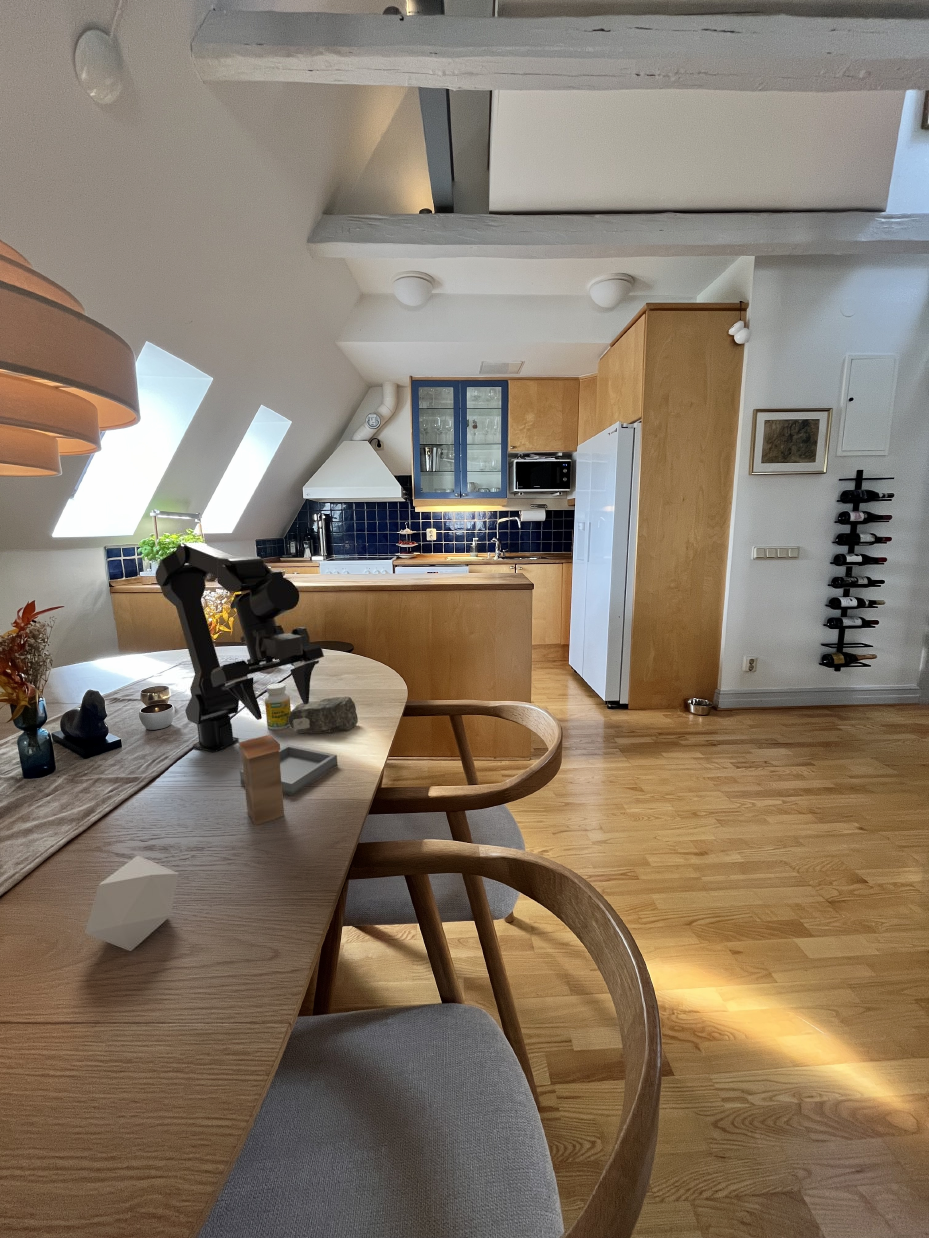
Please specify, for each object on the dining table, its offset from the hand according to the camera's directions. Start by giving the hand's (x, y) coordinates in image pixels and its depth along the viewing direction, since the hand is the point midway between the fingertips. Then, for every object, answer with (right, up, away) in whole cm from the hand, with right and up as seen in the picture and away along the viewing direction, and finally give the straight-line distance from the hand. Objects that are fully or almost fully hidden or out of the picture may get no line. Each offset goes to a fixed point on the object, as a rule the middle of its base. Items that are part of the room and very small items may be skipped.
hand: (284, 711), depth 90 cm
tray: (-1, -12, +5) cm, 14 cm away
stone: (0, -9, +26) cm, 27 cm away
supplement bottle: (-11, -9, +28) cm, 32 cm away
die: (-6, -20, -31) cm, 37 cm away
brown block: (0, -15, -8) cm, 17 cm away
